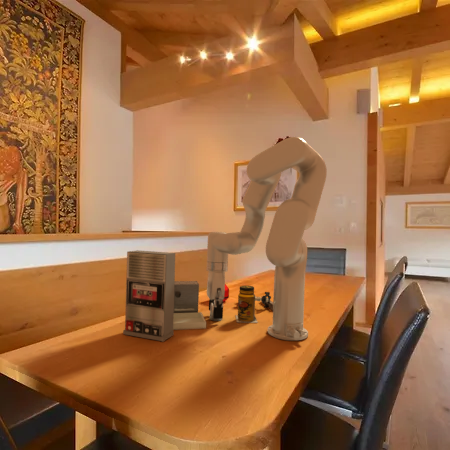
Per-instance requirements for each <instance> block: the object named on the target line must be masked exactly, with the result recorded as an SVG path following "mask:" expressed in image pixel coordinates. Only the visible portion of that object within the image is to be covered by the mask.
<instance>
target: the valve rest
mask: <svg viewBox="0 0 450 450" xmlns="http://www.w3.org/2000/svg"><path fill="white" fill-rule="evenodd" d="M263 296H264V295H262V296H260V297H261V298H262V297H263ZM270 301H271V302H270V303H269V308H268V309H269V310H271V311H272V312H273V301H272V300H271V299H270ZM260 302H261V304H263V302H262V301H261V300H260ZM266 303H268V302H266ZM263 306H265V304H263Z"/></svg>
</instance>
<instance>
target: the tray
mask: <svg viewBox="0 0 450 450" xmlns="http://www.w3.org/2000/svg"><path fill="white" fill-rule="evenodd" d="M198 329H200V330H201V329H207V321H206V319H205V316H204V315H203V312H200V311H198V312H196V313H174V318H173V331H174V330H175V331H177V330H179V331H180V330H198Z"/></svg>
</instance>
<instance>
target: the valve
mask: <svg viewBox="0 0 450 450" xmlns="http://www.w3.org/2000/svg"><path fill="white" fill-rule="evenodd" d="M270 294H271V293H270V292H269V291H265V292H264V295H262V296H263V297H262V298H261V296H255V302H256V301H257V302H261V301H262V302H263V303H262V302H261V303H262V304H263V308H265V309H267V308H268V309H270V308H269V303H270V302H271V301H272V300H271V299H272V295H270ZM270 300H271V301H270ZM266 302H268V303H266ZM264 304H265V305H264Z"/></svg>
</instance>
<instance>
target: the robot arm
mask: <svg viewBox="0 0 450 450" xmlns="http://www.w3.org/2000/svg"><path fill="white" fill-rule="evenodd" d="M326 165H327V164H326V162H325V160H324V159H323V157H322V155H320V154H319V152H318V151H316V150H315V148H313V147H312V146H311V145H310V144H309V143H308V142H307V141H306V140H304V139H303V138H302V137H297V136H290V137H287V138H285V139H283V140H281V141H280V142H277V143H276V144H273V145H272V146H271V147H268V148H267V149H265V150H263V151H261V152H260V153H258V154H256V155H255V156H254V157H252V158H251V159H250V160H249V162H248V163H247V165H246V175H247V177H248V179H249V180H250V181H249V182H250V183H249V184H248V187H247V189H246V191H245V193H244V196H243V198H242V201H241V202H242V206H243V209H244V211H245V219H244V223H243V225H242V227H241V229H240V231H239V232H238V231H236V232H225V231H210V232H209V233H208V235H207V252H206V271H207V283H206V285H207V286H206V297H207V298H208V310H209V312H210V308H211V303H213V301H214V305H215V307H214V310H213V318H214V319H222V320H223V317H224V302H223V299H224V294H225V284H226V274H225V273H226V272H228V269H229V255H233V256H235V255H237V256H238V255H241V254H246V253H249V252H251V251H252V250H253V249H254V248H255V246H256V245H257V242H258V240H259V238H260V236H261V233H262V232H263V229H264V228H263V227H264V224H265V220H266V219H265V218H266V211H267V208H268V206H269V204H270V201H271V199H272V197H273V195H274V192H275V191H276V189H277V187H278V183H279V182H280V179H281V176H282V172H285V171H286V170H288V169H293V170H295V171H297V173H298V178H297V180H296V181H295V185H294V187H293V191H292V195H291V197H290V198H288V199H286V200H284V201H282V202H281V203H280V204H279V206H278V207H277V209H276V211H275V213H274V216H273V220H272V222H271V225H270V226H271V227H270V229H269V230H270V231H269V232H268V237H267V241H266V245H265V255H266V257H267V260H268V261H269V262H270V264H272V265H273V266H275V269H274V276H273V277H274V278H273V280H274V281H273V301H272V302H273V311H272V324H270V325H269V326H268V327H267V333H268V335H269V336H271V337H272V338H273V337H274V338H275V339H279V340H284V341H295V342H296V341H302V340H305V339H307V338H308V337H309V331H308V330H307V329H306V328H305V327H304V317H305V314H304V311H305V286H306V285H305V283H306V268H307V261H308V247H307V242H305V239H304V238H303V236H304V233H305V231H307V230H308V229H310V228H311V227H312V226H313V225H314V222H315V219H316V215H317V212H318V208H319V205H320V201H321V198H322V195H323V190H324V188H325V184H326V179H327V166H326ZM216 301H217V304H216Z"/></svg>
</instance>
